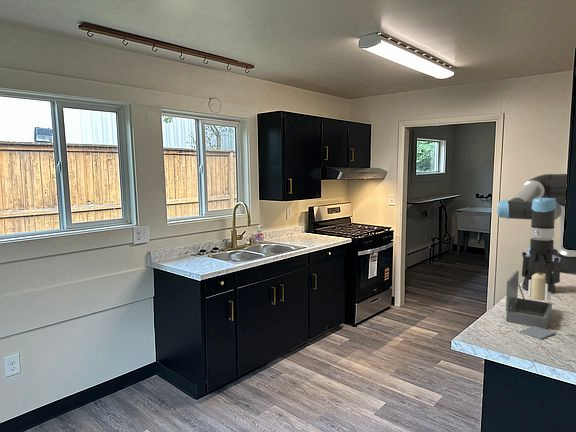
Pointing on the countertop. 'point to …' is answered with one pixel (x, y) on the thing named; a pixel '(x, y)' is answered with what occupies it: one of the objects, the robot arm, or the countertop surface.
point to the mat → (537, 332)
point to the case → (524, 306)
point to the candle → (538, 286)
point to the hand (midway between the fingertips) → (539, 297)
